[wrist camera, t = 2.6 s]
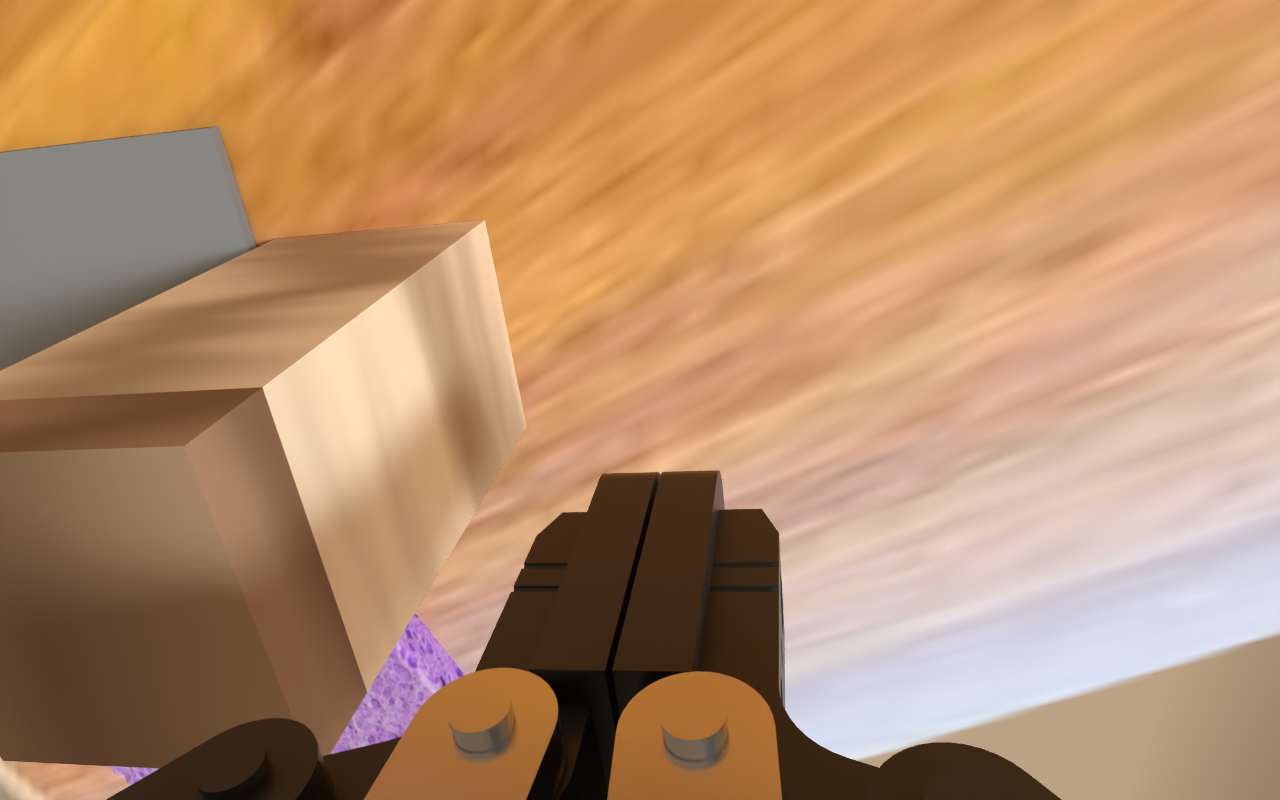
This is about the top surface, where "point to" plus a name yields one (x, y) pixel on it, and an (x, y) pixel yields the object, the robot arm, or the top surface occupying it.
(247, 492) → the birch block
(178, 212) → the mat
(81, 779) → the top surface
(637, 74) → the top surface
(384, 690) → the sponges
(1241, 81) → the top surface
